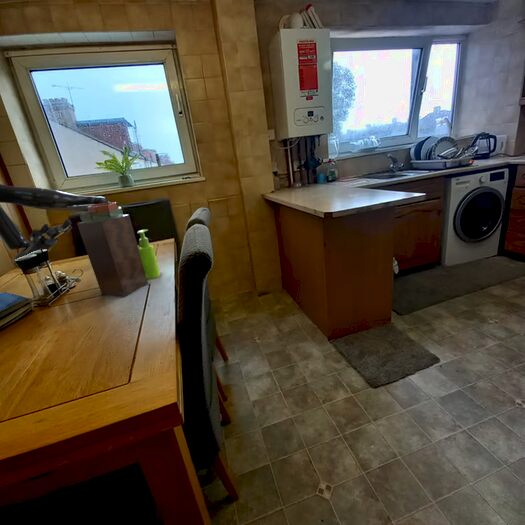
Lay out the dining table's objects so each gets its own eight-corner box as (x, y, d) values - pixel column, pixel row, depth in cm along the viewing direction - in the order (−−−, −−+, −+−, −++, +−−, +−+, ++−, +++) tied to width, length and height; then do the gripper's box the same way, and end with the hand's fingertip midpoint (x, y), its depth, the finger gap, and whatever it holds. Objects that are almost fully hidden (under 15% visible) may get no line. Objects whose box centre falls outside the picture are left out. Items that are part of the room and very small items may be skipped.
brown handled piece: (83, 214, 109) (80, 204, 107) (124, 212, 101) (121, 201, 100) (61, 220, 101) (57, 208, 100) (104, 218, 93) (100, 205, 92)
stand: (125, 280, 118) (103, 207, 107) (149, 282, 113) (128, 206, 102) (99, 295, 106) (71, 215, 95) (125, 297, 102) (98, 213, 91)
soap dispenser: (163, 271, 123) (152, 227, 116) (156, 278, 116) (144, 232, 109) (151, 272, 124) (139, 229, 116) (143, 279, 117) (130, 233, 110)
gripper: (18, 239, 110) (33, 219, 103) (54, 230, 123) (70, 211, 115) (30, 255, 111) (46, 236, 103) (64, 245, 124) (81, 227, 116)
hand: (58, 223), depth 109 cm, fingers open, 8 cm apart
